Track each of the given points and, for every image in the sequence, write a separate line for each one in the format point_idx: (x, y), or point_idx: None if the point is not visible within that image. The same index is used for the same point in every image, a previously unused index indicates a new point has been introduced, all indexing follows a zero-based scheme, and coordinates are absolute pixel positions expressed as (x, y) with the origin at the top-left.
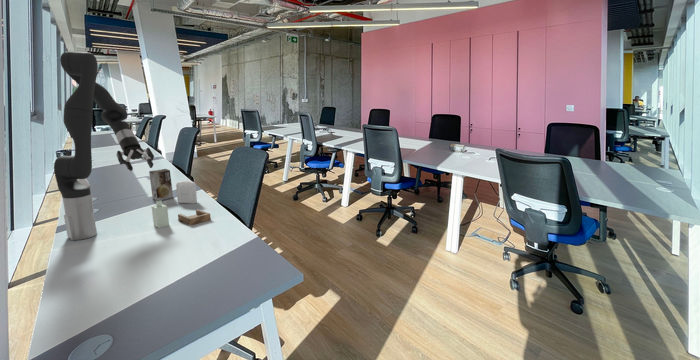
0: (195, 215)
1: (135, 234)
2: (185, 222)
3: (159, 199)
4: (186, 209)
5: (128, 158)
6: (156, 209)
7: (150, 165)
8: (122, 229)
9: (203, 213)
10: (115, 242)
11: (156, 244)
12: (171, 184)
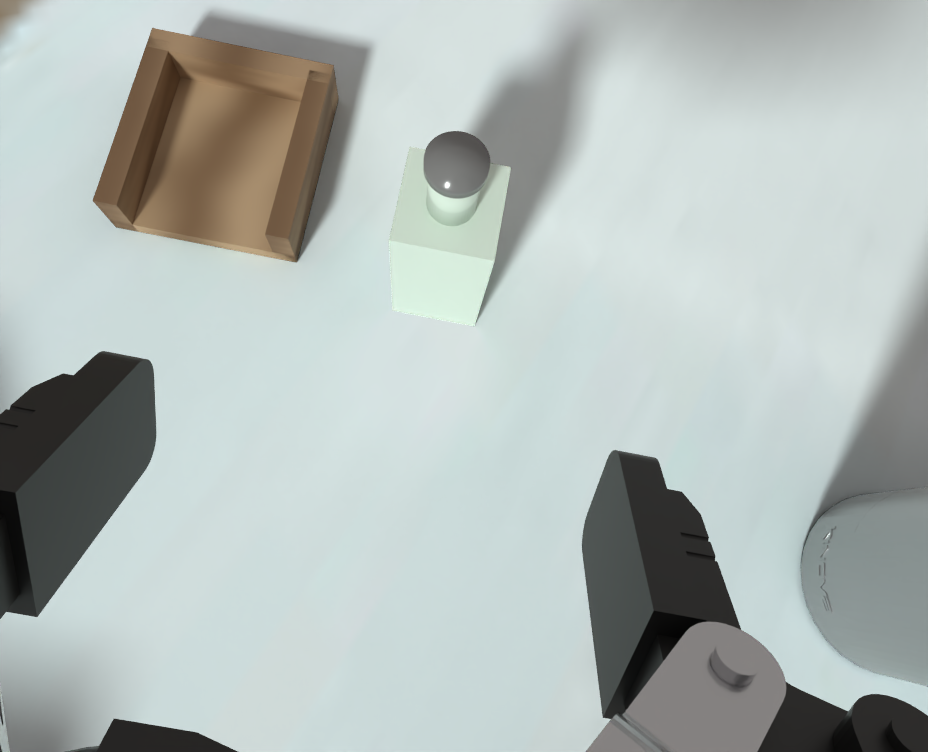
0: (161, 205)
1: (652, 277)
2: (322, 156)
3: (466, 133)
4: None
5: (680, 737)
6: (509, 173)
7: (134, 409)
8: None
9: (156, 96)
10: (798, 256)
11: (673, 21)
12: None
